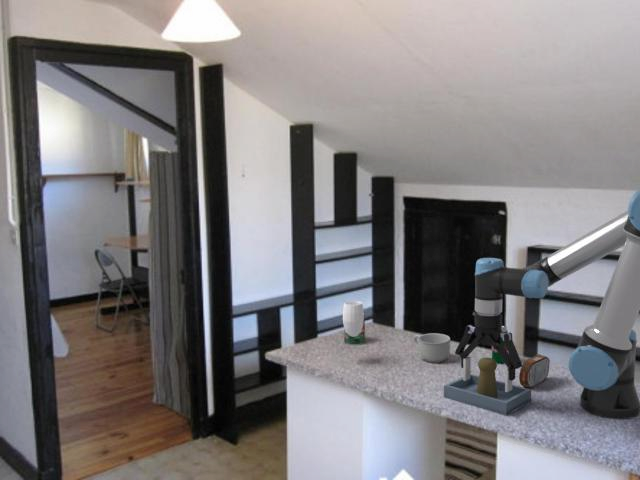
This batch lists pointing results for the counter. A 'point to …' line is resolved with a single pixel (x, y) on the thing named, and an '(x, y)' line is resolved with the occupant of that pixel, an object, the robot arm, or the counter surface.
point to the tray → (501, 404)
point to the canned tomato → (357, 339)
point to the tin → (534, 371)
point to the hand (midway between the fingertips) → (487, 385)
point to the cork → (487, 378)
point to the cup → (353, 317)
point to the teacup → (433, 346)
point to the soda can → (494, 352)
